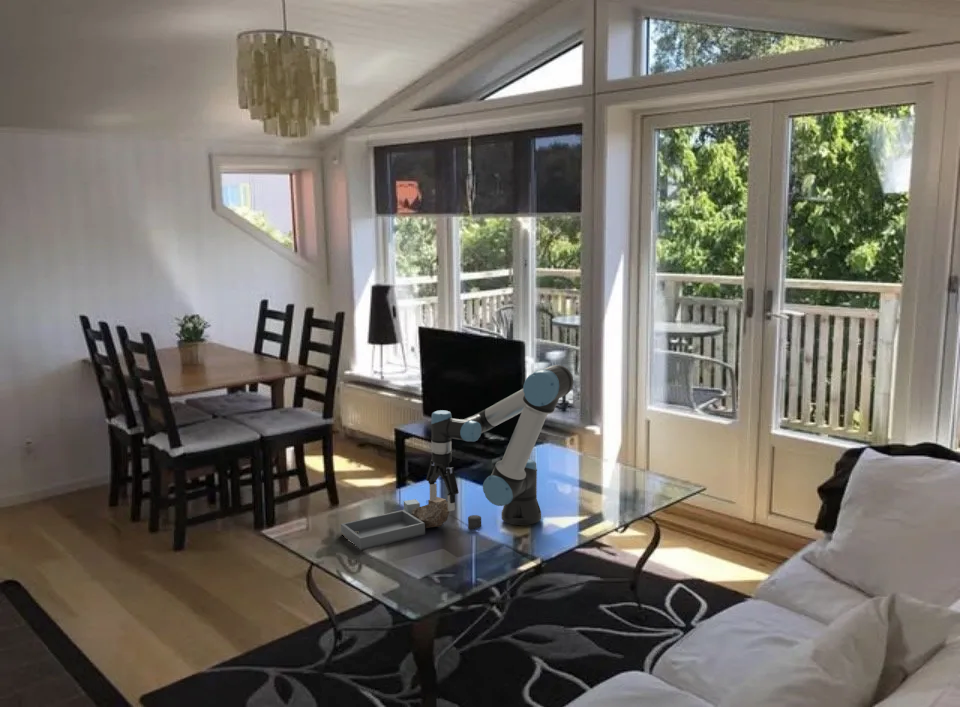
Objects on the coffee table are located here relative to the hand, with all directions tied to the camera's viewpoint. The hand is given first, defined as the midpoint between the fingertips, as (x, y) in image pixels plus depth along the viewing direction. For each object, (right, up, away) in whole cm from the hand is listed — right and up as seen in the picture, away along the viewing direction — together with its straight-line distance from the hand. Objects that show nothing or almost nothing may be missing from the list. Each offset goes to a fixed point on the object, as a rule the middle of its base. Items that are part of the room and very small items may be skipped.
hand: (442, 505), depth 307 cm
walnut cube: (-3, -5, +14) cm, 16 cm away
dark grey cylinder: (+12, -8, -3) cm, 15 cm away
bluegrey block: (-12, -6, +9) cm, 17 cm away
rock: (-1, -7, +2) cm, 7 cm away
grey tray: (-21, -9, -9) cm, 25 cm away
